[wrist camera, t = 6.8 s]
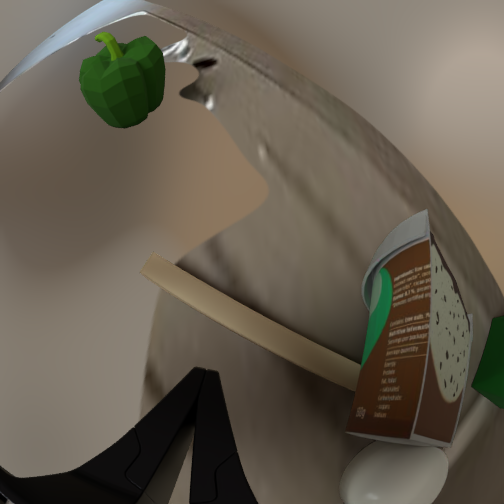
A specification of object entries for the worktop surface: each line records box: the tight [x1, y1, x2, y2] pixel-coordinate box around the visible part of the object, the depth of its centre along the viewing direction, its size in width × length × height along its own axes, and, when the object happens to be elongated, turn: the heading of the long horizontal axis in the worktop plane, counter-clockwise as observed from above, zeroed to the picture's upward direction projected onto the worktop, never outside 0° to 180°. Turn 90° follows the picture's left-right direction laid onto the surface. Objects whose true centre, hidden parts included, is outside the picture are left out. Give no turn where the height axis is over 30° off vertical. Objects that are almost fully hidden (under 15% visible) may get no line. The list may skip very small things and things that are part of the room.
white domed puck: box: [339, 440, 448, 504], centre depth 11 cm, size 7×7×4 cm
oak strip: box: [140, 252, 361, 392], centre depth 16 cm, size 2×16×2 cm, turn 61°
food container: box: [345, 209, 473, 447], centre depth 13 cm, size 12×6×10 cm
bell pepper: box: [79, 32, 165, 128], centre depth 19 cm, size 8×8×10 cm
